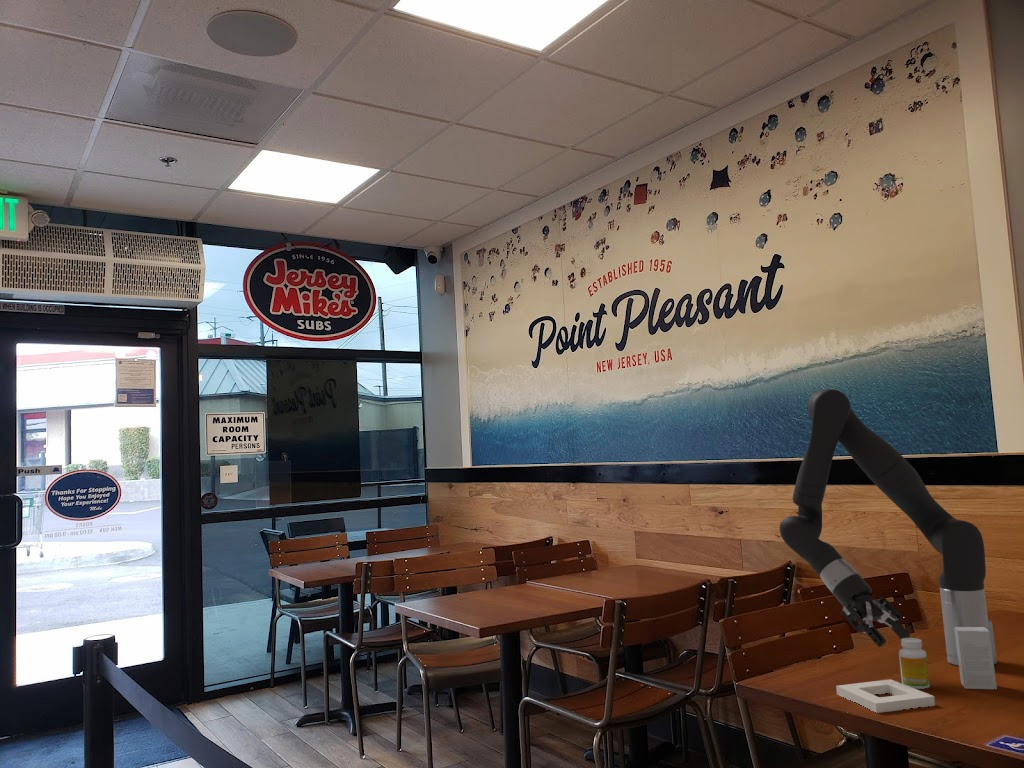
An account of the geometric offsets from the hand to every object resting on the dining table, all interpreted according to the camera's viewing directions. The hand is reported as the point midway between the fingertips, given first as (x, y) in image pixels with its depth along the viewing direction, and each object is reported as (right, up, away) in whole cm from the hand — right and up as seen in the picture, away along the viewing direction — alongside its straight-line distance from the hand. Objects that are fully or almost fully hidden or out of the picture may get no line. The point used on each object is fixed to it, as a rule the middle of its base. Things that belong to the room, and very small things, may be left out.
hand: (895, 641), depth 171 cm
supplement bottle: (+2, -8, -4) cm, 10 cm away
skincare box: (+14, -7, -7) cm, 17 cm away
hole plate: (-8, -8, -12) cm, 17 cm away
